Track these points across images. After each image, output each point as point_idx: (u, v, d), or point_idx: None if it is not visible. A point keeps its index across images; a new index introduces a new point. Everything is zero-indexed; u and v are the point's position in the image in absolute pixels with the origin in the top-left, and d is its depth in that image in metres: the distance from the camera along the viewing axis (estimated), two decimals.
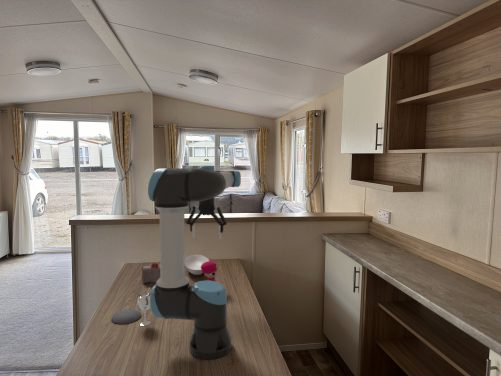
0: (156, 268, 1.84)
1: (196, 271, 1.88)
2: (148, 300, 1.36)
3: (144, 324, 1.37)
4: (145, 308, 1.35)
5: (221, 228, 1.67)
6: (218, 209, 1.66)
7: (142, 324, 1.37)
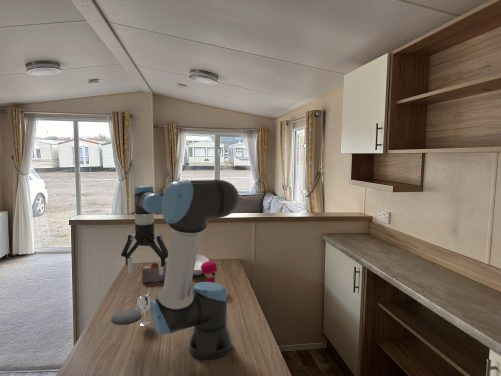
0: (156, 268, 1.84)
1: (196, 271, 1.88)
2: (148, 300, 1.36)
3: (144, 324, 1.37)
4: (145, 308, 1.35)
5: (162, 261, 1.38)
6: (158, 239, 1.37)
7: (142, 324, 1.37)
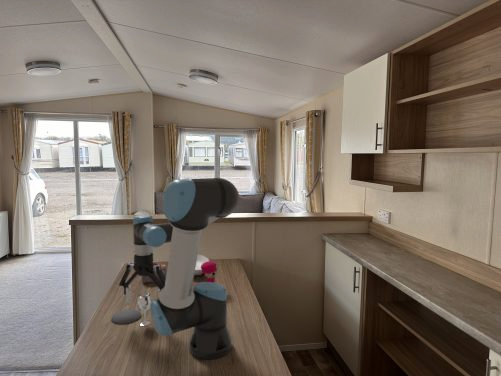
0: None
1: (196, 271, 1.88)
2: (148, 300, 1.36)
3: (144, 324, 1.37)
4: (145, 308, 1.35)
5: None
6: (157, 269, 1.35)
7: (142, 324, 1.37)
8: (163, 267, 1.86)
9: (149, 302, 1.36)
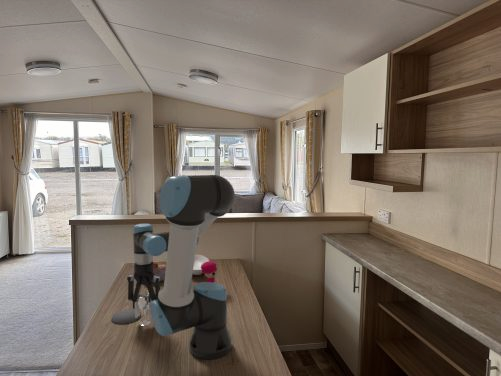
0: (156, 268, 1.84)
1: (196, 271, 1.88)
2: (148, 300, 1.36)
3: (144, 324, 1.37)
4: (145, 308, 1.35)
5: None
6: (156, 281, 1.35)
7: (142, 324, 1.37)
8: (163, 267, 1.86)
9: (149, 302, 1.36)
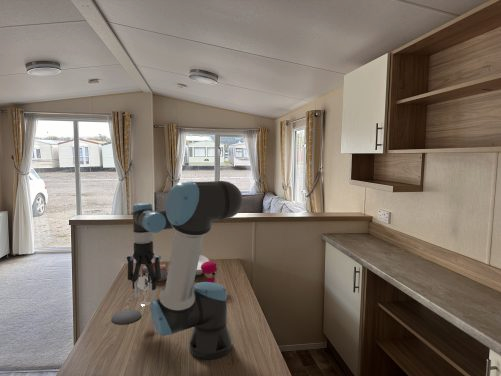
0: None
1: (196, 271, 1.88)
2: (148, 280, 1.35)
3: (144, 304, 1.36)
4: (145, 288, 1.34)
5: (153, 285, 1.36)
6: (156, 260, 1.34)
7: (142, 304, 1.36)
8: (163, 267, 1.86)
9: (149, 282, 1.35)
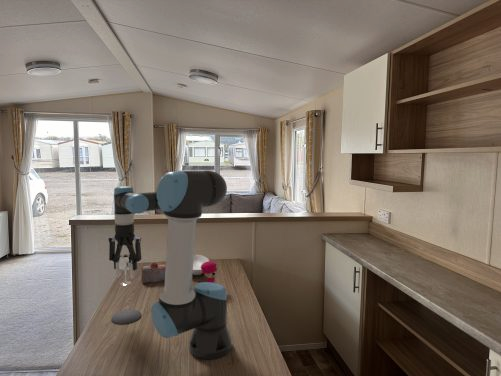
0: (156, 268, 1.84)
1: (196, 271, 1.88)
2: (129, 260, 1.40)
3: (125, 284, 1.41)
4: (126, 268, 1.39)
5: (133, 265, 1.40)
6: (136, 241, 1.39)
7: (123, 284, 1.41)
8: (163, 267, 1.86)
9: (130, 262, 1.40)
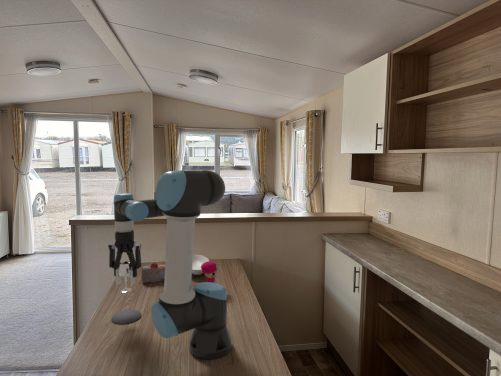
0: (156, 268, 1.84)
1: (196, 271, 1.88)
2: (129, 267, 1.40)
3: (125, 291, 1.41)
4: (126, 275, 1.39)
5: (133, 272, 1.41)
6: (136, 248, 1.39)
7: (123, 291, 1.41)
8: (163, 267, 1.86)
9: (130, 269, 1.40)
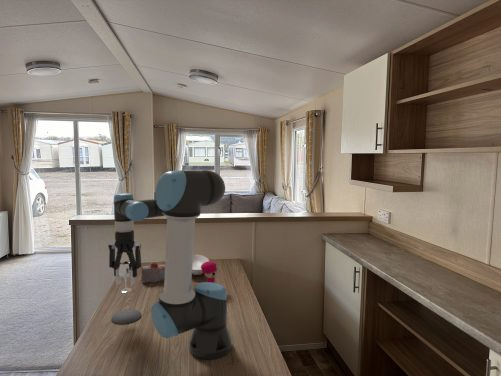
0: (155, 268, 1.84)
1: (196, 271, 1.88)
2: (129, 267, 1.40)
3: (125, 291, 1.41)
4: (126, 275, 1.39)
5: (133, 272, 1.41)
6: (136, 248, 1.39)
7: (123, 291, 1.41)
8: (163, 267, 1.86)
9: (130, 269, 1.40)
